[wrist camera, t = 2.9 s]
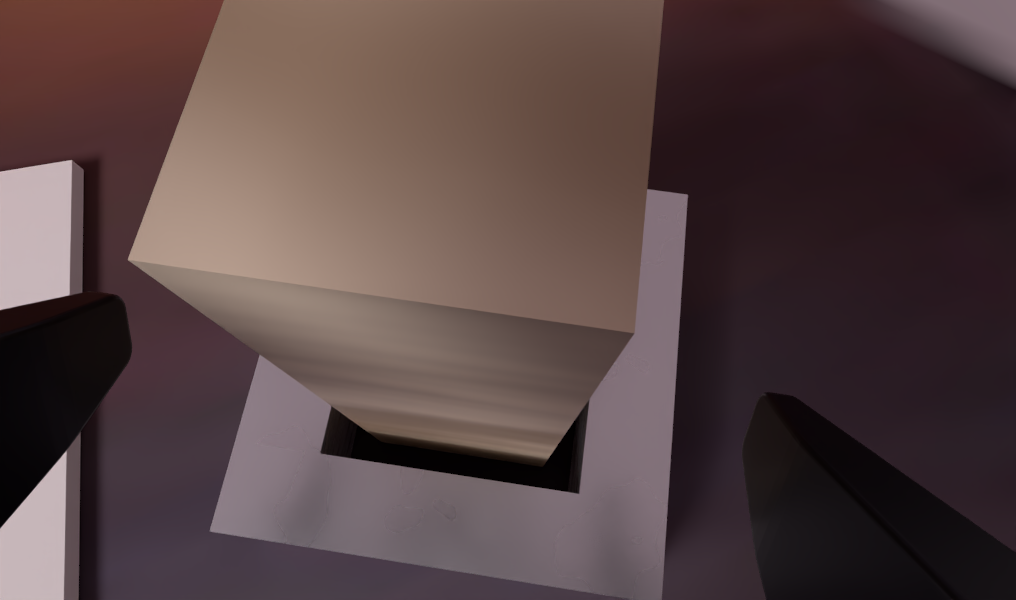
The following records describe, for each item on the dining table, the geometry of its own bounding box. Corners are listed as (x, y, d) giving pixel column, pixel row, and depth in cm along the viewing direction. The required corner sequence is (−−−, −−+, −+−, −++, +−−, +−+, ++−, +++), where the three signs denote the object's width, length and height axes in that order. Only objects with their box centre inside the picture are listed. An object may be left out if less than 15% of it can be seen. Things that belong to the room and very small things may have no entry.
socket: (634, 591, 17) (661, 604, 14) (257, 530, 17) (209, 531, 14) (661, 241, 20) (687, 194, 17) (344, 197, 20) (319, 144, 18)
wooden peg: (542, 466, 18) (635, 333, 6) (381, 442, 18) (126, 259, 6) (562, 312, 19) (669, -61, 7) (413, 291, 20) (265, -111, 7)
